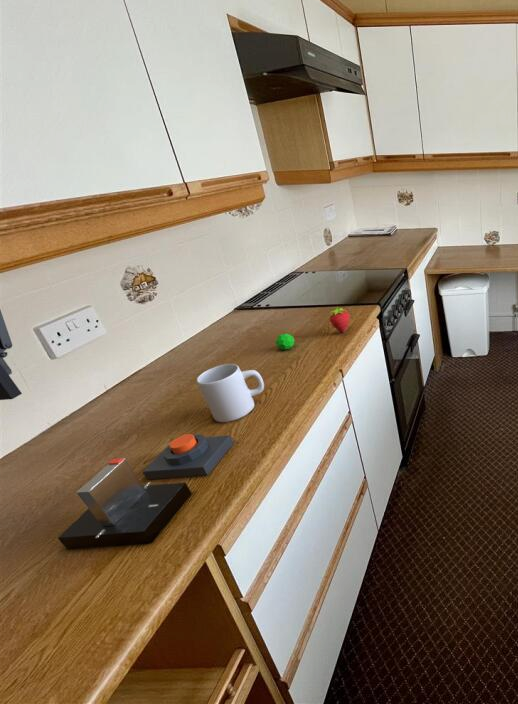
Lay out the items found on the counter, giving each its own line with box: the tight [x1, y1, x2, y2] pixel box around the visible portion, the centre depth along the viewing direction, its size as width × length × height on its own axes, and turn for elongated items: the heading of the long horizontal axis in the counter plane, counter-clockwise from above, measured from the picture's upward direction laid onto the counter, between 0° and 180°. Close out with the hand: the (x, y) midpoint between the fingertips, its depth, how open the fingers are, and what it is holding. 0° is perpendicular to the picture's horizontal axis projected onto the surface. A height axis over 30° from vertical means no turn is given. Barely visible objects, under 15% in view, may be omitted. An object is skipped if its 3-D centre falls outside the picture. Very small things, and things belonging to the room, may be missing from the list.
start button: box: [169, 433, 197, 454], centre depth 82 cm, size 4×4×2 cm
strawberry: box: [329, 307, 350, 334], centre depth 132 cm, size 6×8×10 cm
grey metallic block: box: [76, 457, 146, 526], centre depth 69 cm, size 7×2×8 cm, turn 2°
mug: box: [196, 363, 265, 423], centre depth 97 cm, size 12×8×11 cm
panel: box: [57, 481, 193, 551], centre depth 71 cm, size 14×11×3 cm
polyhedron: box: [275, 333, 295, 351], centre depth 126 cm, size 5×5×5 cm
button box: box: [142, 433, 234, 481], centre depth 83 cm, size 12×9×4 cm
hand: (8, 396), depth 66 cm, fingers closed
